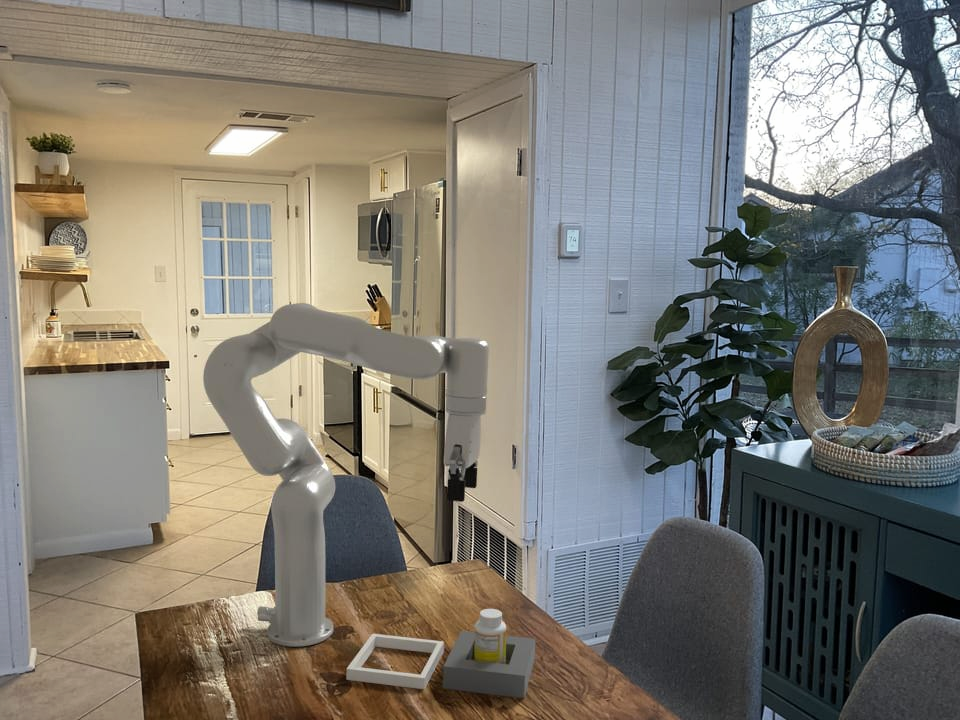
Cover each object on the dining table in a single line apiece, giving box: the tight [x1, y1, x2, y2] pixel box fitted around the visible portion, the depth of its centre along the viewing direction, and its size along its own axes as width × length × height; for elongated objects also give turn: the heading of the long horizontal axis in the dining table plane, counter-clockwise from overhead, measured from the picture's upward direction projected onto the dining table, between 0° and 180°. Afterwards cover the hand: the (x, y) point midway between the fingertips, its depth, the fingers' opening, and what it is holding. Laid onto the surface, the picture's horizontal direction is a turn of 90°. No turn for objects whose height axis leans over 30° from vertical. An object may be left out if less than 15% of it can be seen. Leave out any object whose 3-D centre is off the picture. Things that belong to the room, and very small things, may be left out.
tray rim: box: [346, 633, 445, 690], centre depth 146 cm, size 14×14×2 cm
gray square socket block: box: [442, 630, 536, 699], centre depth 143 cm, size 14×14×4 cm
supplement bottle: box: [474, 608, 507, 664], centre depth 143 cm, size 6×6×10 cm
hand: (462, 493), depth 153 cm, fingers open, 9 cm apart
